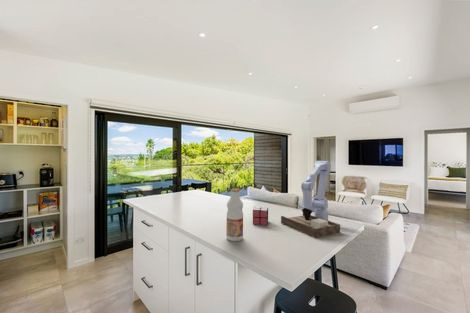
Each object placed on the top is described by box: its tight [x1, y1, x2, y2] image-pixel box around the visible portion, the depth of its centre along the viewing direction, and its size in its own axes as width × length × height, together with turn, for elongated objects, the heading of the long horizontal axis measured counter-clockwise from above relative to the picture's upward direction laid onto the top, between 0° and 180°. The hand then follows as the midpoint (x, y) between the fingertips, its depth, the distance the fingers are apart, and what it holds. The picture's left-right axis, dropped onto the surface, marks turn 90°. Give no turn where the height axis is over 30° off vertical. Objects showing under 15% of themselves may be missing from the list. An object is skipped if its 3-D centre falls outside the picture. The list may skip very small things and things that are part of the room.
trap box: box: [280, 212, 341, 239], centre depth 147 cm, size 21×31×5 cm
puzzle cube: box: [252, 206, 269, 226], centre depth 157 cm, size 10×10×10 cm
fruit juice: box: [225, 188, 244, 242], centre depth 126 cm, size 9×9×28 cm
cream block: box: [311, 219, 329, 228], centre depth 139 cm, size 7×7×4 cm
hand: (307, 220), depth 148 cm, fingers closed
